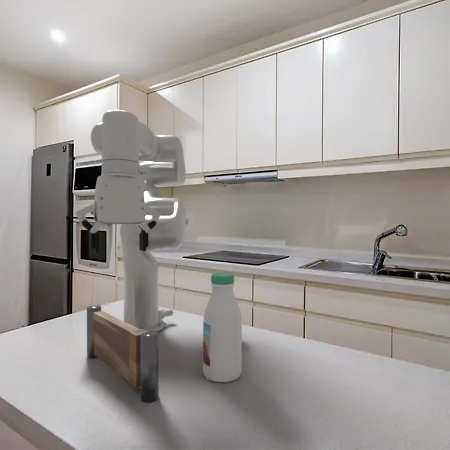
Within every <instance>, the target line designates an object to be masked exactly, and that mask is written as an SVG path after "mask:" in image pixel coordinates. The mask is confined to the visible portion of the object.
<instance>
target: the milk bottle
mask: <svg viewBox="0 0 450 450" xmlns="http://www.w3.org/2000/svg"><path fill="white" fill-rule="evenodd" d="M210 282H211V288H212V289H211V293H210V297H209V299H208V301H207V304H206V306H205V308H204V313H203V321H202V322H203V323H202V324H203V325H202V335H203V336H202V371H203V376H204V377H205V379H207V380H209V381H212V382H215V383H229V382H232V381H236V380H237V379H239V378H240V376H241V374H242V368H243V365H242V364H243V363H242V362H243V355H242V353H243V351H242V349H243V345H242V344H243V333H242V332H243V326H242V324H243V323H242V322H243V320H242V312H241V309H240V305H239V303H238V301H237V298H236V296H235V291H234V286H235V274H233V273H230V272H216V273H215V272H214V273H212V274H211V276H210Z"/></svg>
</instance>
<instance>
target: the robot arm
mask: <svg viewBox="0 0 450 450" xmlns="http://www.w3.org/2000/svg"><path fill="white" fill-rule="evenodd" d="M90 142H91V145H92V148H93V149H94V151H95V152H96V153H97V154H98V155H99V156H101V175H99V176H97V179H96V182H95V183H96V184H95V190H94V191H95V192H94V202H93V204H91V205H87V206H85V207H84V208H80V209H79V210H77V211H76V212H75V215H76V217H77V220H78V221H79V223H80V224H81V225H82V227H84V228H85V229H86V231H88V232H89V233H90V238H89V239H90V240H89V242H90V248H89V249H90V250H93V253H95V254H98V253H100V233H99V230H100V229H101V227H102V226H103V225H120V228H119V235H120V241H121V247H122V257H123V259H122V260H123V321H124V322H126V323H128V324H130V325H132V326H134V327H136V328H138V329H142V330H144V331H146V332H149V331H153V332H157V333H159V332H160V331H161V330H163V329H164V328H165V322H164V319H165V318H166V317H167V318H168V317H171V316H173V315H174V310H173V309H171V308H170V309H166V310H165V309H164V308H163V309H160V304H159V303H160V300H159V298H160V297H159V296H160V295H159V293H160V291H159V290H160V287H159V285H160V283H159V281H160V280H159V279H160V277H159V275H160V274H159V273H160V270H159V269H160V268H159V267H160V266H159V264H158V261H157V259H156V257H155V256H154V255H153V254H152V252H151V251H155V250H157V251H158V250H159V251H163V250H164V251H169V250H177V249H179V248H181V246H183V243H184V240H185V231H186V221H187V220H186V219H187V209H186V205H185V203H184V201H183V200H182V199H180V198H178V197H165V195H164V193H163V192H162V190H161V189H160V188H159V187H181V186H183V184H185V181H186V174H187V173H186V165H185V164H186V163H185V154H184V153H185V152H184V147H183V144H182V141H181V140H180V138H179V137H178V136H177V135H171V134H170V135H168V134H167V135H166V134H165V135H163V134H154V131H152V129H151V127H149V126H148V125H147V124H146V123H144V122H142V121H140V120H139V119H138V117H137V115H135V114H134V113H132V112H131V111H126V110H120V109H113V110H108V111H105V112H104V113H103V115H102V117H101V122H99V123H96V124H94V126H93V127H92V129H91V132H90ZM140 161H141V163H140ZM89 213H93V220H94V223H91V222H90V221H88V220H87V218H86V215H87V214H89Z"/></svg>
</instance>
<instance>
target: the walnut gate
mask: <svg viewBox="0 0 450 450" xmlns="http://www.w3.org/2000/svg"><path fill="white" fill-rule="evenodd" d="M93 319H94V355H95V356H96V357H97V358H96V359H99V360H100V361H101V362H103V363H104V364H105V365H106V366H108V367H110V368H111V369H113V371H115V372H116V373H118V374H119V375H120V376H121V377H123V378H124V380H127V381H128V382H129V383H128V384H129V385H130V386H132V388H134V389H135V390H136V389H139V388H140V389H141V334H142V333H144V332H146V331H144V330H142V329H138V328H136V327H134V326H132V325H130V324H128V323H126V322H124V320H122V319H120V318H118V317H116V316H114V315H111V314H110V313H108V312H105V311H104V310H101V311H99V312H94V313H93Z"/></svg>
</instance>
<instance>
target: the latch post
mask: <svg viewBox="0 0 450 450" xmlns="http://www.w3.org/2000/svg"><path fill="white" fill-rule="evenodd" d="M158 399H159V332H153V331H149V332H144V333H142V334H141V387H140V400H141V402H143V403H153V402H156V401H157V400H158Z"/></svg>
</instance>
